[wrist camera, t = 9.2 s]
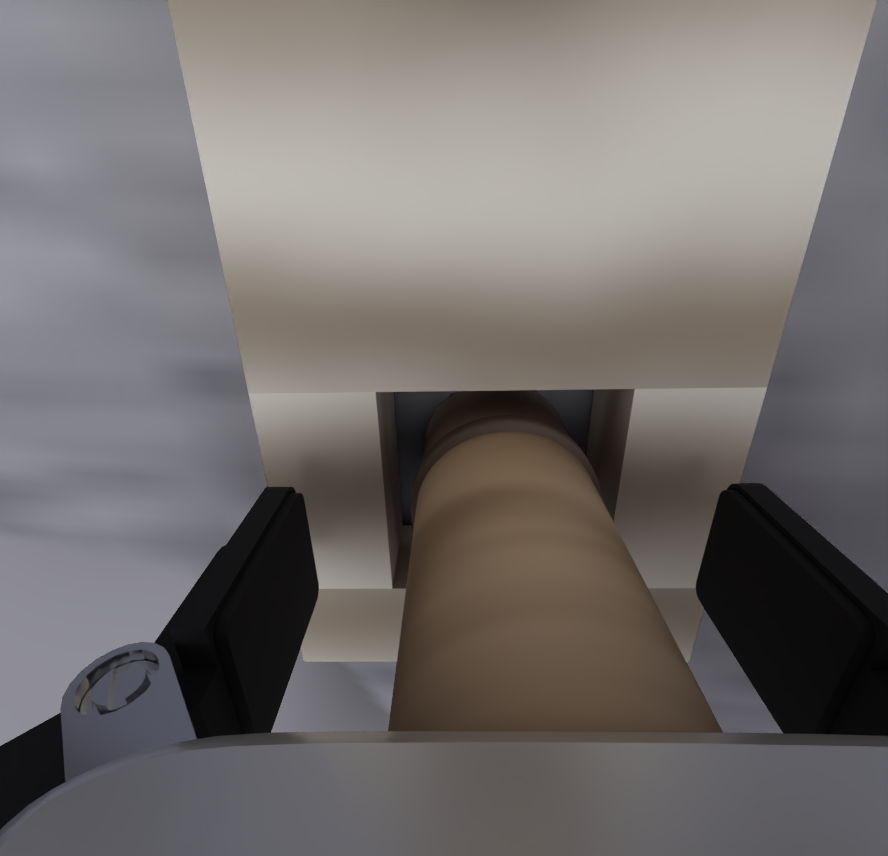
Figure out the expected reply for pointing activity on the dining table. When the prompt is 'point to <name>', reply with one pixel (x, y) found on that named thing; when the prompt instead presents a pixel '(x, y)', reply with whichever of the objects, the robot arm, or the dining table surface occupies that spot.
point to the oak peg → (527, 589)
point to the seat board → (511, 244)
